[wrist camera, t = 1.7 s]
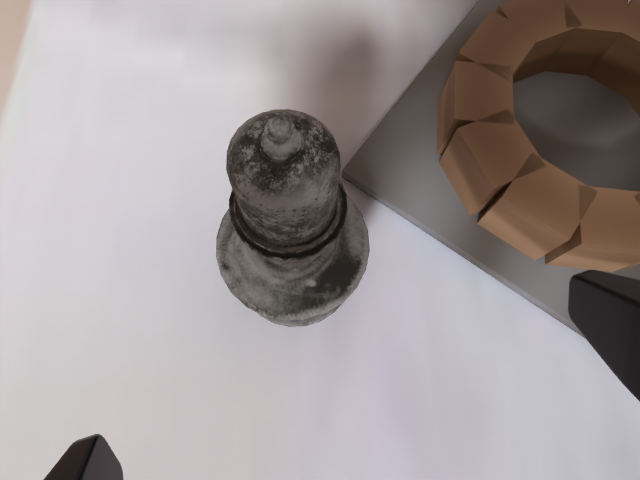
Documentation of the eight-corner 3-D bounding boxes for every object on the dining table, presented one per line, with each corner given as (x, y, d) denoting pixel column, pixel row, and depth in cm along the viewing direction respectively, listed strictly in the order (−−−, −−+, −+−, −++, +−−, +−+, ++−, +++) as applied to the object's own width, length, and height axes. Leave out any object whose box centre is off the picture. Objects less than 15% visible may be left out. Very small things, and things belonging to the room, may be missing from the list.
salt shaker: (240, 203, 22) (167, 1, 11) (363, 213, 22) (418, 21, 11) (221, 327, 20) (110, 237, 9) (356, 339, 20) (412, 263, 9)
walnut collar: (772, 119, 24) (847, 74, 21) (647, 379, 20) (716, 375, 17) (502, -25, 27) (529, -86, 24) (341, 176, 23) (346, 137, 19)
